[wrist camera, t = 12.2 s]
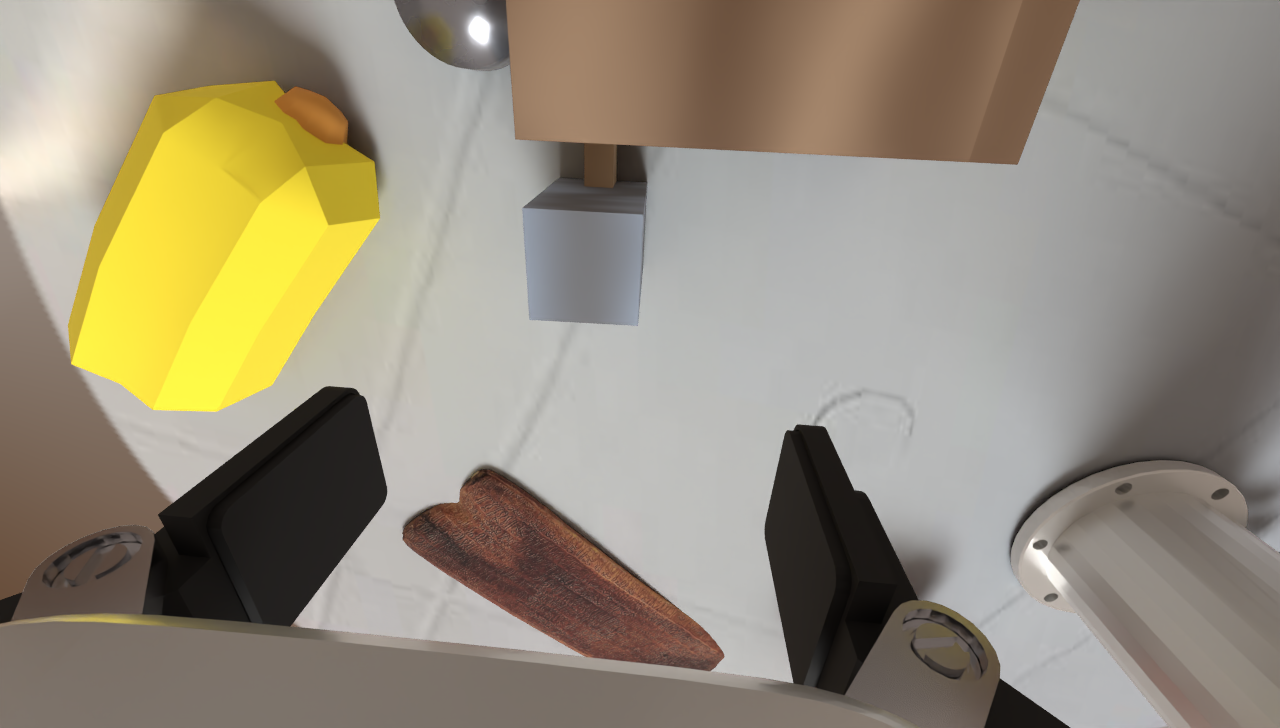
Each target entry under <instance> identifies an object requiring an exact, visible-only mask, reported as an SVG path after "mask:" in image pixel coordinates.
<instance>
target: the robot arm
mask: <svg viewBox="0 0 1280 728" xmlns="http://www.w3.org/2000/svg"><path fill="white" fill-rule="evenodd" d="M386 496H387V486H386V481H385V477H384V473H383V469H382V465H381V460H380V456H379V452H378V448H377V444H376V439H375V435H374V431H373V427H372V423H371V418H370V414H369V410H368V406H367V402H366V399H365V398H364V396H361V395H360V394H359V392H358V391H357V390H356V389H354V388H344V387H332V386H327V387H324V388H322V389H321V390H320V391H318V392H317V393H316V394H314V395H313V396H312V397H311V398H309V399H308V400H307V401H305V402H304V403H303V404H301V405H300V406H299V407H298V408H296V409H295V410H294V411H292V412H291V413H290V414H288V415H287V416H286V417H284V418H283V419H282V420H281V421H279V422H278V423H277V424H275V425H274V426H273V427H271V428H270V429H269V430H268V431H266V432H265V433H264V434H262V435H261V436H260V437H258V438H257V439H256V440H254V441H253V442H252V443H251V444H249V445H248V446H247V447H245V448H244V449H243V450H241V451H240V452H239V453H238V454H236V455H235V456H234V457H232V458H231V459H230V460H228V461H227V462H226V463H225V464H223V465H222V466H221V467H219V468H218V469H217V470H215V471H214V472H213V473H211V474H210V475H209V476H208V477H206V478H205V479H204V480H202V481H201V482H200V483H198V484H197V485H196V486H195V487H193V488H192V489H191V490H189V491H188V492H187V493H185V494H184V495H183V496H182V497H180V498H179V499H178V500H176V501H175V502H174V503H172V504H171V505H170V506H168V507H167V508H166V509H165V510H163V511H162V512H161V513H159V514H158V516H159V517H160V519H161V521H162V523H163V525H164V527H163V528H162V529H161V530H160V531H158V532H157V533H156V534H154V532H153V531H152V530H150V529H149V528H147V527H144V526H139V525H127V526H118V527H114V528H110V529H105V530H102V531H99V532H96V533H93V534H90V535H87V536H85V537H83V538H80V539H78V540H77V541H74V542H72V543H70V544H68V545H66V546H64V547H63V548H61V549H60V550H58V551H57V552H55V553H54V554H52V555H50V556H49V557H48V558H47V559H45V560H44V561H43V562H42V563H41V564H40V565H39V566H38V567H37V568H35V570H34V571H33V573H32V574H31V576H30V577H29V579H28V581H27V583H26V586H25V588H24V591H23V592H22V593H19V594H16V595H13V596H11V597H8V598H5V599H2V600H0V728H1070V727H1069V726H1067V725H1066V724H1064V723H1063V722H1062V721H1060V720H1059V719H1057V718H1056V717H1054V716H1053V715H1052V714H1050V713H1049V712H1047V711H1046V710H1044V709H1043V708H1042V707H1040V706H1039V705H1037V704H1036V703H1034V702H1033V701H1032V700H1030V699H1029V698H1027V697H1026V696H1024V695H1023V694H1022V693H1020V692H1019V691H1017V690H1016V689H1014V688H1013V687H1012V686H1010V685H1009V684H1007V683H1006V682H1004V681H1003V680H1002V679H1000V663H999V660H998V657H997V654H996V652H995V650H994V648H993V647H992V645H991V644H990V642H989V641H988V639H987V638H986V636H985V635H984V634H983V633H982V632H981V631H980V630H979V629H978V628H977V627H976V626H975V625H974V624H973V623H971V622H970V621H968V620H967V619H966V618H964V617H963V616H961V615H960V614H959V613H957V612H955V611H953V610H951V609H949V608H947V607H945V606H943V605H940V604H937V603H933V602H929V601H920V600H918V598H917V596H916V594H915V592H914V590H913V588H912V586H911V584H910V582H909V580H908V578H907V576H906V574H905V572H904V570H903V568H902V566H901V563H900V561H899V559H898V557H897V555H896V553H895V551H894V549H893V547H892V545H891V543H890V541H889V539H888V537H887V535H886V533H885V531H884V529H883V527H882V525H881V522H880V520H879V518H878V516H877V514H876V512H875V510H874V508H873V506H872V504H871V502H870V500H869V498H868V497H867V495H866V494H865V493H864V492H862V491H854V489H853V486H852V484H851V482H850V480H849V478H848V476H847V473H846V471H845V469H844V467H843V465H842V463H841V460H840V458H839V456H838V454H837V452H836V449H835V447H834V445H833V443H832V441H831V439H830V436H829V434H828V432H827V430H826V428H825V427H823V426H810V425H796V427H795V428H794V431H790V430H787V431H786V433H785V436H784V440H783V445H782V449H781V454H780V458H779V463H778V467H777V472H776V476H775V481H774V485H773V490H772V494H771V499H770V504H769V508H768V513H767V517H766V522H765V541H766V546H767V551H768V556H769V561H770V566H771V571H772V576H773V582H774V587H775V592H776V597H777V602H778V607H779V612H780V617H781V622H782V627H783V632H784V637H785V642H786V647H787V652H788V657H789V663H790V668H791V673H792V678H793V683H788V682H782V681H776V680H771V679H765V678H758V677H751V676H743V675H735V674H727V673H719V672H711V671H703V670H695V669H688V668H680V667H672V666H663V665H654V664H645V663H635V662H626V661H617V660H608V659H599V658H590V657H581V656H572V655H562V654H553V653H544V652H535V651H526V650H516V649H506V648H497V647H487V646H478V645H468V644H459V643H449V642H439V641H430V640H420V639H410V638H400V637H391V636H381V635H371V634H361V633H351V632H341V631H330V630H320V629H310V628H300V627H290V626H291V625H292V624H293V622H294V621H295V620H296V618H297V617H298V616H299V614H300V613H301V612H302V610H303V609H304V608H305V607H306V605H307V604H308V603H309V601H310V600H311V599H312V597H313V596H314V595H315V593H316V592H317V591H318V589H319V588H320V587H321V586H322V584H323V583H324V582H325V580H326V579H327V578H328V576H329V575H330V574H331V572H332V571H333V570H334V568H335V567H336V566H337V565H338V563H339V562H340V561H341V559H342V558H343V557H344V555H345V554H346V553H347V551H348V550H349V549H350V547H351V546H352V545H353V543H354V542H355V541H356V540H357V538H358V537H359V536H360V534H361V533H362V532H363V530H364V529H365V528H366V526H367V525H368V524H369V522H370V521H371V520H372V519H373V517H374V516H375V515H376V513H377V512H378V511H379V509H380V508H381V507H382V505H383V504H384V502H385V500H386ZM1247 519H1248V508H1247V504H1246V501H1245V498H1244V496H1243V495H1242V494H1241V492H1240V491H1239V490H1238V489H1237V487H1236V486H1234V485H1233V484H1232V483H1230V482H1229V481H1227V480H1226V479H1224V478H1223V477H1221V476H1220V475H1219V474H1217V473H1216V472H1214V471H1212V470H1209V469H1207V468H1205V467H1203V466H1201V465H1197V464H1192V463H1188V462H1184V461H1169V460H1157V461H1146V462H1136V463H1131V464H1127V465H1122V466H1117V467H1113V468H1110V469H1107V470H1104V471H1102V472H1099V473H1096V474H1093V475H1090V476H1088V477H1086V478H1084V479H1082V480H1080V481H1078V482H1075V483H1073V484H1071V485H1070V486H1068V487H1066V488H1065V489H1063V490H1061V491H1060V492H1058V493H1057V494H1055V495H1053V496H1052V497H1051V498H1050V499H1048V500H1047V501H1046V502H1045V503H1043V504H1042V505H1041V506H1040V507H1038V508H1037V509H1036V510H1035V512H1034V513H1033V514H1032V515H1031V516H1030V517H1029V518H1028V519H1027V520H1026V521H1025V523H1024V524H1023V526H1022V527H1021V529H1020V531H1019V532H1018V534H1017V535H1016V538H1015V541H1014V543H1013V546H1012V549H1011V561H1010V562H1011V566H1012V570H1013V573H1014V575H1015V576H1016V578H1017V579H1018V581H1019V582H1020V584H1021V585H1022V587H1023V588H1024V589H1025V590H1026V591H1027V592H1028V594H1029V595H1030V596H1031V597H1032V598H1034V599H1035V600H1036V601H1038V602H1039V603H1041V604H1043V605H1046V606H1049V607H1051V608H1054V609H1057V610H1062V611H1067V612H1072V613H1077V615H1078V616H1079V617H1080V618H1081V620H1082V621H1083V622H1084V623H1085V625H1086V626H1087V627H1088V628H1089V629H1090V631H1091V632H1092V633H1093V634H1094V636H1095V637H1096V638H1097V639H1098V641H1099V642H1100V643H1101V644H1102V645H1103V647H1104V648H1105V649H1106V650H1107V652H1108V653H1109V654H1110V655H1111V657H1112V658H1113V659H1114V660H1115V661H1116V663H1117V664H1118V665H1119V666H1120V668H1121V669H1122V670H1123V671H1124V673H1125V674H1126V675H1127V676H1128V677H1129V679H1130V680H1131V681H1132V682H1133V684H1134V685H1135V686H1136V687H1137V688H1138V690H1139V691H1140V692H1141V693H1142V695H1143V696H1144V697H1145V698H1146V700H1147V701H1148V702H1149V703H1150V704H1151V706H1152V707H1153V708H1154V709H1155V711H1156V712H1157V713H1158V714H1159V716H1160V717H1161V718H1162V719H1163V720H1164V722H1165V723H1166V724H1167V725H1168V727H1169V728H1280V552H1277V551H1276V550H1275V549H1273V548H1272V547H1271V546H1269V545H1268V544H1267V543H1265V542H1264V541H1262V540H1261V539H1260V538H1258V537H1257V536H1256V535H1254V534H1253V533H1251V532H1250V531H1249V530H1247V529H1246V526H1247Z"/></svg>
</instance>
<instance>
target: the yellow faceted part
mask: <svg viewBox="0 0 1280 728" xmlns="http://www.w3.org/2000/svg"><path fill="white" fill-rule="evenodd" d="M347 133H348V121H347V120H346V118H345V116H344V115H343V113H342V112H341V111H340V110H339V109H338V108H337V107H336V106H335V105H334V104H332V103H331V102H330V101H329V100H328V99H327V98H326V97H325V96H322V95H320V94H317V93H315V92H312V91H310V90H307V89H303V88H300V87H296V86H295V87H294V88H292V89H291V90H289V91H288V92H286V93H284V92H283V90H282V89H281V88H280V87H279V85H278V84H277V83H276V82H275V81H264V82H251V83H238V84H225V85H212V86H205V87H199V88H194V89H188V90H183V91H177V92H172V93H166V94H160V95H155V96H154V98H153V100H152V102H151V104H150V106H149V109H148V111H147V113H146V115H145V117H144V119H143V122H142V124H141V126H140V128H139V130H138V133H137V135H136V137H135V139H134V141H133V143H132V146H131V148H130V150H129V152H128V154H127V156H126V159H125V161H124V163H123V165H122V167H121V169H120V172H119V174H118V176H117V178H116V180H115V183H114V185H113V187H112V189H111V191H110V193H109V196H108V198H107V200H106V202H105V204H104V206H103V209H102V211H101V213H100V215H99V217H98V219H97V222H96V224H95V226H94V230H93V234H92V237H91V241H90V245H89V248H88V252H87V256H86V260H85V263H84V267H83V271H82V275H81V278H80V282H79V286H78V290H77V293H76V297H75V301H74V305H73V308H72V312H71V316H70V319H69V323H68V331H69V343H70V355H71V364H72V365H75V366H77V367H80V368H82V369H85V370H87V371H90V372H92V373H95V374H97V375H100V376H102V377H105V378H107V379H110V380H112V381H115V382H117V383H120V384H121V385H122V386H124V387H125V388H126V389H127V390H129V391H130V392H131V393H132V394H134V395H135V396H136V397H137V398H139V399H140V400H141V401H142V402H144V403H145V404H146V405H147V406H149V407H150V408H151V409H152V410H180V411H216V412H217V411H219V410H221V409H223V408H225V407H227V406H229V405H232V404H234V403H236V402H238V401H240V400H242V399H244V398H246V397H248V396H250V395H252V394H255V393H257V392H259V391H261V390H263V389H265V388H267V387H269V386H271V385H272V384H273V383H274V381H275V379H276V378H277V376H278V374H279V373H280V371H281V369H282V368H283V366H284V364H285V363H286V361H287V359H288V358H289V356H290V354H291V353H292V351H293V349H294V348H295V346H296V344H297V343H298V341H299V339H300V338H301V336H302V334H303V333H304V331H305V329H306V328H307V326H308V324H309V323H310V321H311V319H312V318H313V316H314V314H315V313H316V311H317V310H318V308H319V307H320V305H321V304H322V302H323V301H324V300H325V298H326V297H327V295H328V294H329V292H330V291H331V289H332V288H333V286H334V285H335V283H336V282H337V280H338V279H339V278H340V276H341V275H342V273H343V272H344V270H345V269H346V267H347V266H348V264H349V263H350V261H351V260H352V259H353V257H354V256H355V254H356V253H357V251H358V250H359V248H360V247H361V245H362V244H363V242H364V241H365V239H366V238H367V237H368V235H369V234H370V232H371V231H372V229H373V228H374V226H375V225H376V223H377V222H378V220H379V219H380V212H379V202H378V192H377V182H376V172H375V162H374V161H373V160H371V159H369V158H368V157H366V156H365V155H363V154H361V153H360V152H358V151H357V150H355V149H353V148H352V147H350V146H349V145H347Z"/></svg>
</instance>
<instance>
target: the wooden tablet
mask: <svg viewBox="0 0 1280 728" xmlns="http://www.w3.org/2000/svg"><path fill="white" fill-rule="evenodd" d="M402 534H403V541H404V542H405V543H406V544H407V545H408V546H409V547H410V548H411V549H412V550H413V551H415V552H416V553H417V554H418V555H420V556H422V557H423V558H424V559H426V560H427V561H428V562H430V563H431V564H433V565H434V566H436V567H437V568H438V569H440V570H441V571H443V572H445V573H446V574H447V575H449V576H451V577H452V578H454V579H456V580H457V581H459V582H460V583H462V584H463V585H465V586H466V587H468V588H470V589H472V590H473V591H475V592H476V593H478V594H479V595H481V596H482V597H484V598H486V599H487V600H489V601H491V602H492V603H494V604H496V605H498V606H499V607H500V608H502V609H504V610H505V611H507V612H508V613H510V614H511V615H513V616H515V617H517V618H518V619H520V620H522V621H524V622H526V623H527V624H529V625H530V626H532V627H534V628H536V629H538V630H539V631H541V632H543V633H545V634H546V635H548V636H550V637H552V638H553V639H555V640H557V641H558V642H560V643H562V644H564V645H565V646H567V647H569V648H571V649H572V650H574V651H576V652H578V653H580V654H582V655H583V656H585V657H590V658H599V659H608V660H617V661H626V662H635V663H645V664H654V665H663V666H672V667H680V668H688V669H695V670H703V671H711V670H712V669H714V668H715V667H716V666H717V664H718V663H719V662H720V661H721V660H722V659H723V658H724V654H723V651H722V650H721V649H720V647H719V646H718V645H717V643H716V642H715V641H714V640H713V639H712V637H711V636H710V635H709V634H708V633H707V632H706V631H705V630H704V629H703V628H702V627H701V626H700V625H699V624H698V623H696V622H695V621H694V620H693V619H691V618H690V617H689V616H687V615H686V614H685V613H683V612H682V611H681V610H679V609H678V608H677V607H675V605H673V604H672V603H670V602H669V601H668V600H666V599H665V598H664V597H662V596H661V595H659V594H657V593H656V592H654V591H653V590H652V589H651V588H649V587H648V586H646V585H645V584H644V583H642V582H641V581H640V580H638V579H637V578H635V577H634V576H633V575H631V574H630V573H629V572H627V571H626V570H625V569H624V568H622V567H621V566H620V565H618V564H617V563H615V562H614V561H613V560H612V559H611V558H609V557H608V556H607V555H606V554H604V553H603V552H602V551H601V550H600V549H598V548H597V547H596V546H594V545H593V544H592V543H590V542H589V541H588V540H586V539H585V538H584V537H583V536H581V535H580V534H579V533H578V532H576V531H575V530H574V529H572V528H571V527H570V526H568V525H567V524H566V523H565V522H564V521H563V520H561V519H560V518H559V517H558V516H556V515H555V514H554V513H553V512H551V511H550V510H549V509H548V508H547V507H546V506H545V505H543V504H541V503H540V502H539V501H537V500H536V499H535V498H534V497H532V496H531V495H530V494H528V493H527V492H526V491H524V490H523V489H521V488H519V487H518V486H517V485H515V484H514V483H512V482H511V481H509V480H508V479H506V478H504V477H503V476H501V475H499V474H497V473H495V472H494V471H491V470H484V469H483V470H480V471H478V472H476V473H475V474H474V475H473V476H472V477H471V478H470V479H469V480H468V481H467V482H466V483H465V485H464V486H463V487H462V488H461V490H460V501H459V502H458V503H444V504H439V505H437V506H434V507H431V508H429V509H427V510H426V511H424V512H423V513H421V514H420V515H418V516H417V517H416V518H414V519H413V520H412V521H411V522H410V523H409V524H408V525H407V526H406V527H405V528H404V530H403V533H402Z"/></svg>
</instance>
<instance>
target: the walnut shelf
mask: <svg viewBox="0 0 1280 728" xmlns="http://www.w3.org/2000/svg"><path fill="white" fill-rule="evenodd" d="M1079 1H1080V0H506V10H507V24H508V39H509V53H510V68H511V82H512V97H513V111H514V125H515V139H519V140H538V141H558V142H578V143H598V144H618V145H638V146H658V147H678V148H698V149H717V150H737V151H757V152H777V153H797V154H817V155H837V156H857V157H877V158H897V159H916V160H936V161H956V162H976V163H996V164H1016V165H1018V162H1019V159H1020V157H1021V154H1022V152H1023V149H1024V146H1025V144H1026V141H1027V138H1028V136H1029V133H1030V130H1031V128H1032V125H1033V123H1034V120H1035V117H1036V115H1037V112H1038V109H1039V107H1040V104H1041V101H1042V99H1043V96H1044V93H1045V91H1046V88H1047V86H1048V83H1049V80H1050V78H1051V75H1052V72H1053V70H1054V67H1055V64H1056V62H1057V59H1058V57H1059V54H1060V51H1061V49H1062V46H1063V43H1064V41H1065V38H1066V35H1067V33H1068V30H1069V28H1070V25H1071V22H1072V20H1073V17H1074V14H1075V12H1076V9H1077V6H1078V4H1079Z"/></svg>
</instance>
